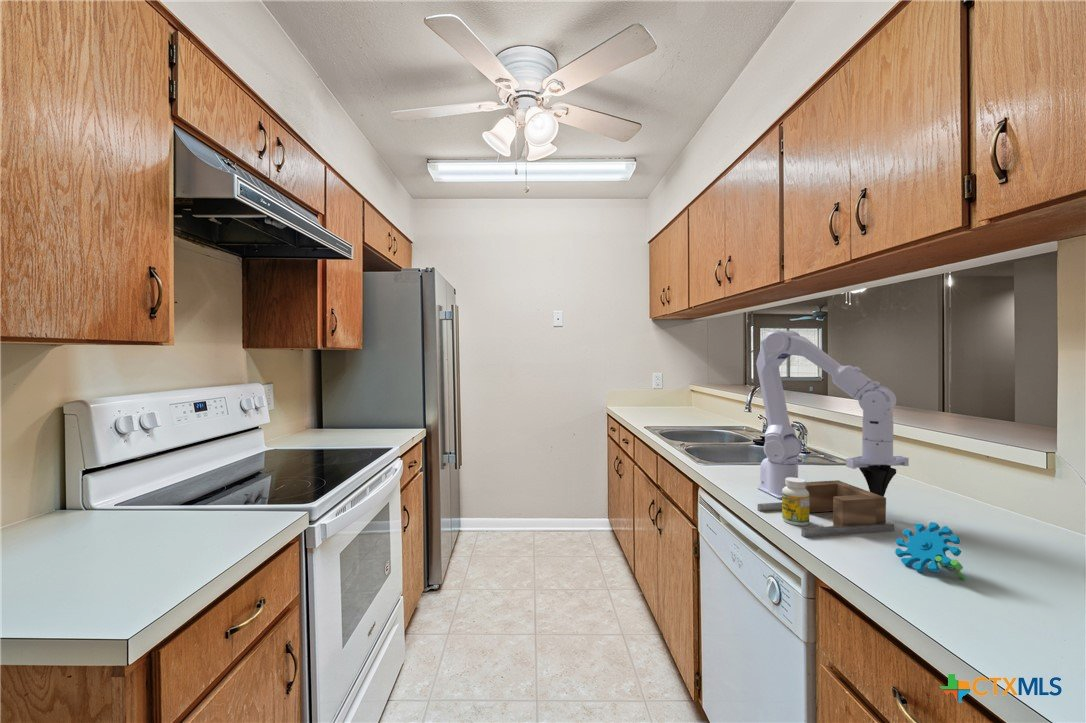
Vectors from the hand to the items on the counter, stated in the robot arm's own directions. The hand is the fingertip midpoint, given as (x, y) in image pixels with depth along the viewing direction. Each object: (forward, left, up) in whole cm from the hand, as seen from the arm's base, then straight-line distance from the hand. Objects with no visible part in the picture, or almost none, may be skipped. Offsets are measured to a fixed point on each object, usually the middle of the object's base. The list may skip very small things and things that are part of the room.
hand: (877, 497), depth 102 cm
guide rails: (0, -14, -4) cm, 15 cm away
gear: (+23, -12, -5) cm, 27 cm away
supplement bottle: (0, -21, -5) cm, 21 cm away
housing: (0, -10, -4) cm, 10 cm away
